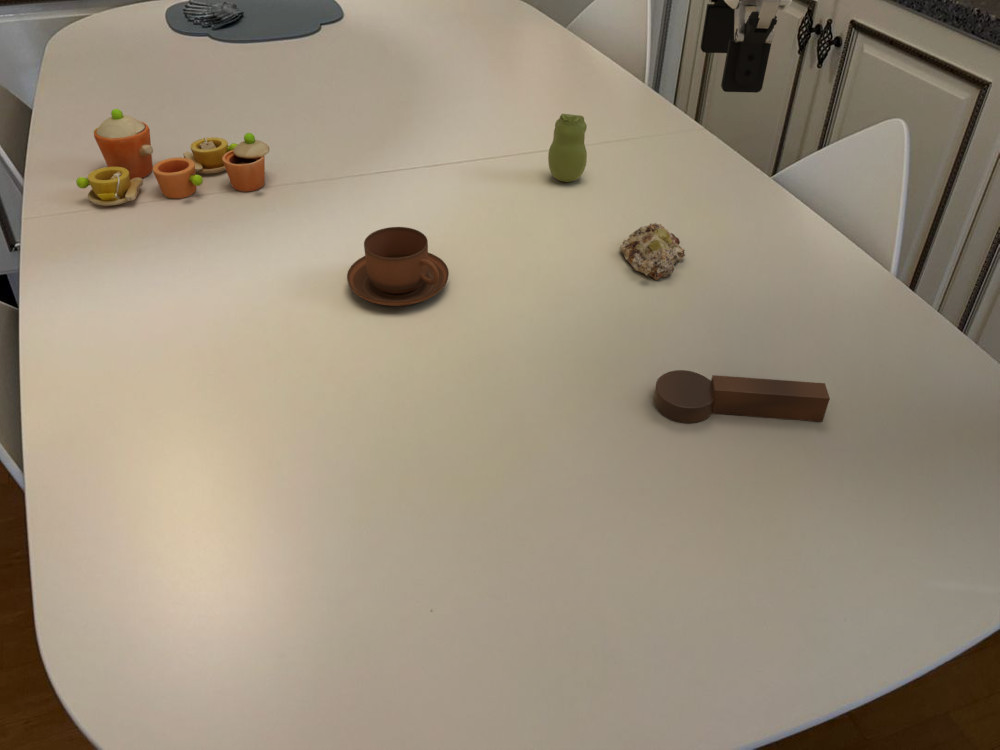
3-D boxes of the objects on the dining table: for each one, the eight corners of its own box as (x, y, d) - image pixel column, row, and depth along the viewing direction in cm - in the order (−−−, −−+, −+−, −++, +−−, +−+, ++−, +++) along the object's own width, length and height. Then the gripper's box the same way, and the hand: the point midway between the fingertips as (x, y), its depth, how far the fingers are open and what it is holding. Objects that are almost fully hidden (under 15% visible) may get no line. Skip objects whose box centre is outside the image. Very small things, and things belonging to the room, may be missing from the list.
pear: (544, 185, 125) (547, 118, 118) (551, 170, 129) (554, 105, 122) (582, 189, 124) (587, 123, 117) (587, 174, 128) (593, 109, 121)
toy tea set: (79, 213, 116) (57, 146, 110) (94, 166, 128) (75, 102, 122) (275, 195, 121) (265, 130, 115) (272, 151, 133) (262, 89, 127)
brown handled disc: (654, 421, 84) (658, 397, 82) (652, 382, 89) (655, 360, 87) (826, 434, 83) (833, 410, 81) (814, 394, 87) (821, 371, 86)
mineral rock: (616, 220, 111) (678, 208, 110) (622, 248, 114) (683, 237, 112) (618, 265, 103) (685, 253, 101) (624, 295, 106) (690, 283, 104)
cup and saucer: (461, 269, 106) (461, 225, 102) (429, 322, 97) (427, 276, 93) (371, 255, 108) (367, 211, 104) (332, 305, 99) (325, 259, 95)
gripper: (860, -148, 55) (799, 109, 66) (792, -178, 69) (750, 40, 80) (745, -151, 55) (702, 107, 66) (700, -180, 69) (670, 38, 80)
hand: (728, 70), depth 73 cm, fingers open, 9 cm apart
